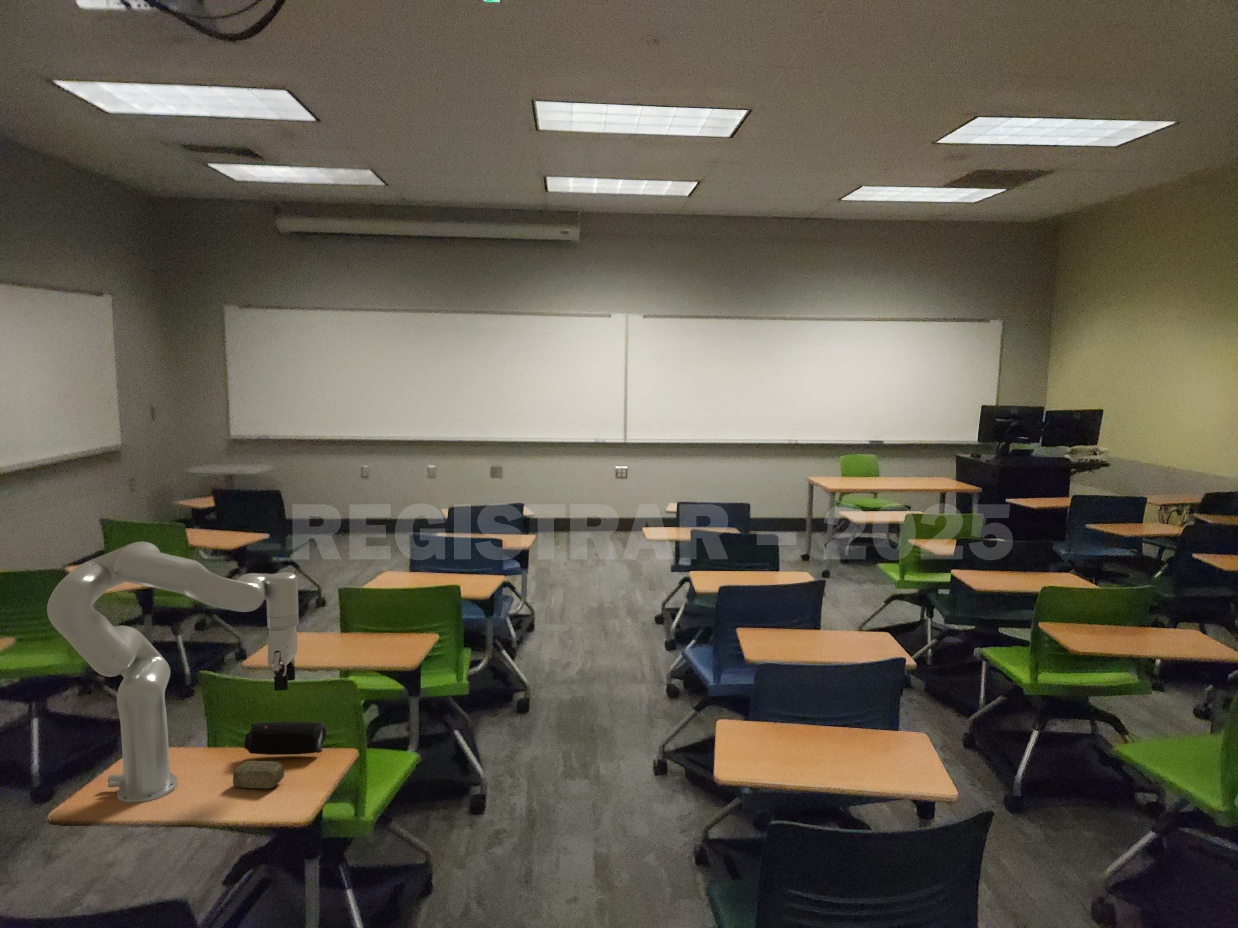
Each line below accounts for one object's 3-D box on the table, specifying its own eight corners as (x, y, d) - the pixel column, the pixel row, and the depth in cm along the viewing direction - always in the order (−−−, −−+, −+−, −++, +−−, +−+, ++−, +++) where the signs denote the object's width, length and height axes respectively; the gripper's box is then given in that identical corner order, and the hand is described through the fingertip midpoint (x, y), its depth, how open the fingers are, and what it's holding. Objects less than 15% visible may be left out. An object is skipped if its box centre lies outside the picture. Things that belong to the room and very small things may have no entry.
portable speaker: (243, 730, 189) (318, 729, 192) (256, 716, 198) (327, 716, 201) (242, 761, 189) (317, 760, 192) (255, 745, 199) (326, 744, 201)
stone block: (273, 790, 176) (270, 772, 175) (231, 789, 178) (229, 771, 177) (286, 777, 182) (284, 759, 181) (246, 776, 183) (243, 758, 183)
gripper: (278, 609, 192) (280, 672, 194) (256, 631, 175) (258, 699, 177) (307, 608, 193) (309, 671, 195) (287, 630, 176) (289, 698, 178)
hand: (285, 684), depth 186 cm, fingers open, 5 cm apart
